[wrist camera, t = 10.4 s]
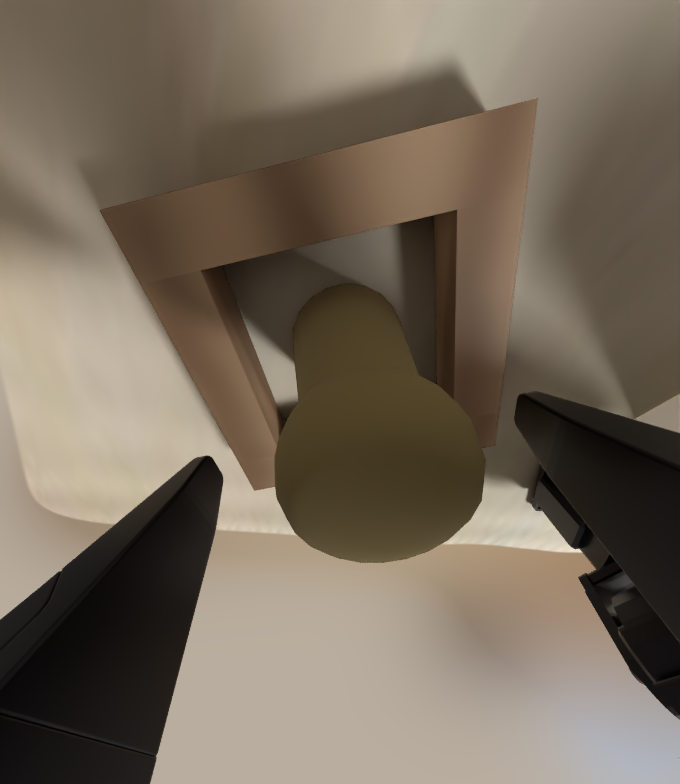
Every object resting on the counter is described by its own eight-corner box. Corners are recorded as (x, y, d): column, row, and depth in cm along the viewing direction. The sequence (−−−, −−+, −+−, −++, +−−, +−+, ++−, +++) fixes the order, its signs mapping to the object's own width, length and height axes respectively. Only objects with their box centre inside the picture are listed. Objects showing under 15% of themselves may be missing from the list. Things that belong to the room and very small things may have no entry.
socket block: (494, 124, 11) (537, 98, 9) (475, 420, 18) (495, 445, 16) (140, 213, 12) (99, 210, 10) (261, 461, 19) (254, 490, 17)
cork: (412, 368, 16) (537, 562, 7) (318, 401, 17) (312, 615, 8) (385, 264, 13) (543, 350, 4) (272, 309, 14) (169, 475, 5)
